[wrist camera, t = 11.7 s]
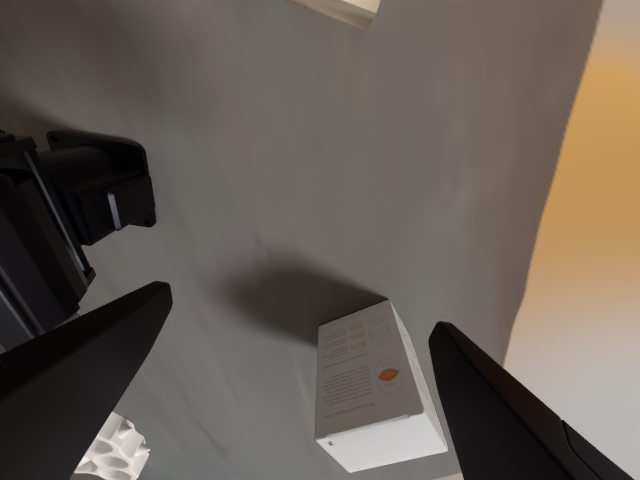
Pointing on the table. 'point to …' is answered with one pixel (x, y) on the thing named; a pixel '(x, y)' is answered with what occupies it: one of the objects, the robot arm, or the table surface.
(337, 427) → the small box
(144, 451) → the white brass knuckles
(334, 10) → the birch base block
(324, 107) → the table surface
